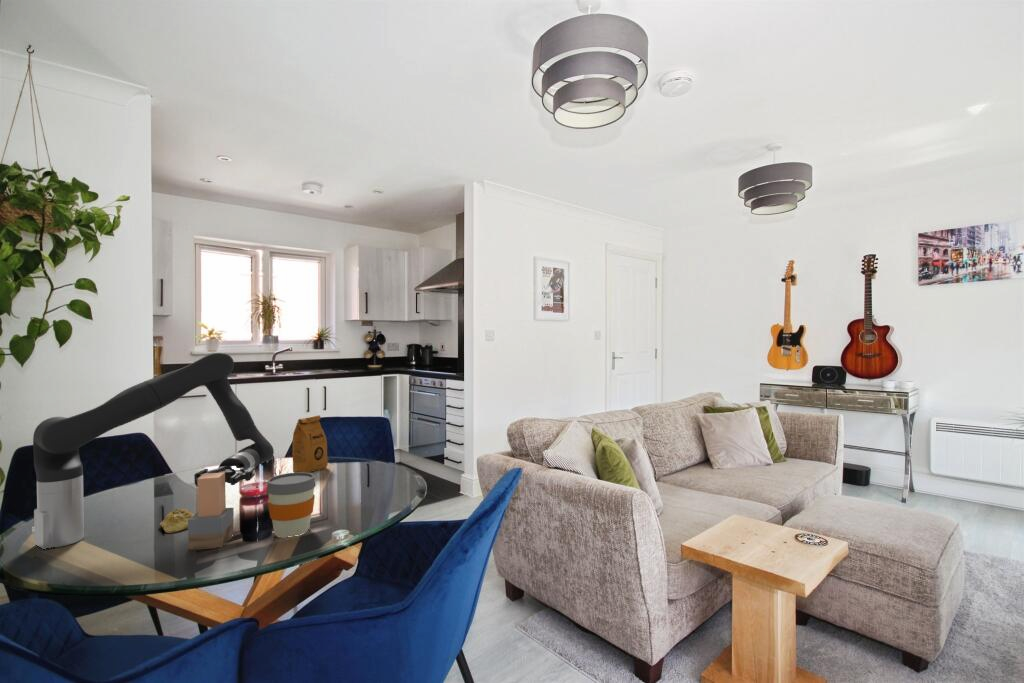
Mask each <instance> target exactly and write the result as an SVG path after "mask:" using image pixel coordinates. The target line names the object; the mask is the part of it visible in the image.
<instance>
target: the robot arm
mask: <svg viewBox="0 0 1024 683" xmlns="http://www.w3.org/2000/svg"><path fill="white" fill-rule="evenodd" d="M234 361H235V360H234V359H233V358H232V356H231V355H229V353H228V354H227V353H226V352H222V351H214V352H210V353H208V354H206V355H204V356H203V357H200V358H199V359H198V360H195V361H194V362H192V363H190V364H188V365H186V366H184V367H182V368H179V369H176V370H173V371H169V372H166V373H164V374H163V373H162V374H160V375H157V376H155V377H152V378H149V379H147V380H145V381H141V382H140V383H137V384H134V385H132V386H130V387H128V388H126V389H124V390H122V391H120V392H119V393H118V394H116V395H114V396H113V397H111V398H110V399H108V400H107V401H105V402H104V403H103V404H100V405H99V406H97V407H94V408H92V409H89V410H87V411H84V412H81V413H78V414H76V415H72V416H70V417H66V416H65V417H64V416H53V417H50V418H47V419H44V420H43V421H41V422H40V423H39V424H38V425H37V426H36V428H35V430H34V432H33V437H32V447H33V450H32V451H33V467H34V471H35V475H36V505H37V506H36V508H35V509H33V510H34V511H33V521H34V522H33V523H34V525H33V526H34V528H33V529H34V530H33V531H34V533H33V534H34V545H35V544H36V545H37V546H39V547H41V548H42V549H41V548H40V549H41V550H43V549H45V550H47V549H46V548H49V549H53V547H55V548H60V547H65V546H69V545H72V544H75V543H77V542H80V541H81V540H83V539H84V538H85V524H84V522H85V521H84V520H85V519H84V517H85V516H84V468H83V467H84V466H83V463H82V461H81V457H80V449H79V448H81V447H82V446H84V445H86V444H87V443H90V442H91V441H93V440H94V439H97V438H99V437H100V436H103V434H105V433H107V432H109V431H111V430H114V429H115V428H118V427H121V426H124V425H126V424H128V423H130V422H134V421H136V420H138V419H140V418H143V417H145V416H148V415H149V414H152V413H154V412H156V411H158V410H160V409H162V408H164V407H166V406H168V405H170V404H172V403H173V402H175V401H177V400H178V399H180V398H182V397H183V396H185V395H186V394H188V393H189V392H191V391H193V390H194V389H197V388H199V387H201V386H204V387H205V388H206V389H207V390H208V392H209V393H210V395H211V396H212V399H213V400H214V401H215V402H216V404H217V406H218V408H219V409H220V411H221V413H222V415H223V417H224V418H225V421H226V423H227V426H228V427H229V430H230V431H231V434H232V435H233V438H234V439H235V441H237V442H241V441H245V440H250V441H253V443H252V444H249V445H247V446H246V447H242V448H241V449H239V450H238V451H237V453H234V454H232V455H231V456H229V457H227V458H225V459H224V460H223V461H222V462H220V464H219V466H218V467H216V468H214V469H208V468H204V469H202V470H200V471H198V472H196V473H194V474H193V476H194V480H193V481H194V485H195V487H196V488H198V484H197V479H198V478H199V477H201V476H202V475H203V474H207V473H222V472H225V483H228V484H230V486H234V485H236V484H238V483H241V482H243V480H245V481H246V482H248V481H251V480H252V479H253V478H254V477H255V475H256V474H255V473H256V470H255V469H256V468H257V466H259V465H260V464H263V463H264V462H267V461H269V460H271V459H272V458H273V456H274V454H275V453H274V447H273V445H272V444H271V442H269V440H267V439H266V437H265V436H264V435H263V434H262V433H261V431H260V430H259V429H258V427H257V426H256V423H255V421H254V419H253V417H252V416H251V414H250V412H249V410H248V409H247V407H246V405H245V404H244V403H243V401H241V400H240V399H239V397H238V396H237V395H236V393H235V392H234V391H233V388H232V386H231V384H230V382H229V378H228V377H229V376H230V375H231V373H232V372H233V370H234V366H235V362H234ZM37 546H36V547H37ZM39 547H38V548H39ZM51 547H52V548H51Z"/></svg>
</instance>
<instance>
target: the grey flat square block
mask: <svg viewBox="0 0 1024 683" xmlns="http://www.w3.org/2000/svg"><path fill="white" fill-rule="evenodd" d="M234 508H235V507H226V509H225V510H224V511H223V512H222V513H221V514H220V515H219V516H207V517H198V512H196V513H195V514H194V516H192V517H191V518H190V519H188V529H187V536H188V535H203V534H219V533H223V532H224V531H225V530H226V529H227V528H228V527H229V526H230V525H231V524H232V523H233V522H234V521H235V520H234V519H235V518H234V517H235V513H234ZM234 523H235V522H234Z"/></svg>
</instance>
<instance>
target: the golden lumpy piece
mask: <svg viewBox="0 0 1024 683" xmlns="http://www.w3.org/2000/svg"><path fill="white" fill-rule="evenodd" d="M194 515H195V514H193V513H192V512H191V511H189V510H187V509H183V508H182V509H174V510H172V511H171V512H169V513H168V514H167V515H166V516H165V518H164V519H163V520H162V521H161V522H160V523H159V526H160V527H161V528H162V529H163V530H164V532H165V533H167V534H174V533H177V532H179V533H180V532H182V531H185V530H188V519H190V518H191V517H192V516H194Z"/></svg>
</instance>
